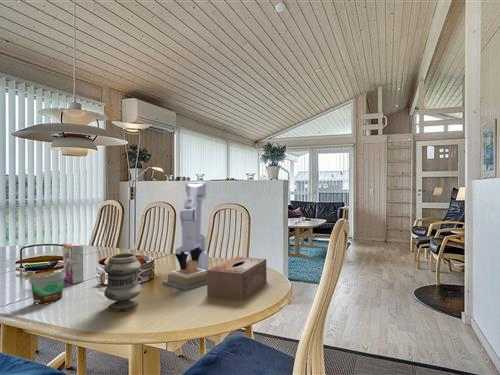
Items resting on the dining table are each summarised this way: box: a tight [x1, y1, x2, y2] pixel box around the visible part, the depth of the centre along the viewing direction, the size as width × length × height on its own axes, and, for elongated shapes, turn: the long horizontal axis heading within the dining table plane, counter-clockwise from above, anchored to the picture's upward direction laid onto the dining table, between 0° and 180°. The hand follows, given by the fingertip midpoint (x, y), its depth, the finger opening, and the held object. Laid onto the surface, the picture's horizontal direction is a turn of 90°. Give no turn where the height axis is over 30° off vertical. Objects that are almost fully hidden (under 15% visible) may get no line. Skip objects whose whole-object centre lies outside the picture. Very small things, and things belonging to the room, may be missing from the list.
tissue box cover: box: [206, 256, 268, 301], centre depth 135 cm, size 26×14×10 cm, turn 157°
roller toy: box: [99, 271, 105, 285], centre depth 144 cm, size 4×6×6 cm
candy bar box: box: [62, 242, 84, 285], centre depth 148 cm, size 11×5×16 cm, turn 47°
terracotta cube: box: [179, 259, 197, 275], centre depth 144 cm, size 5×5×5 cm
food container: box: [28, 269, 66, 305], centre depth 122 cm, size 12×6×10 cm, turn 148°
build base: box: [162, 268, 207, 291], centre depth 144 cm, size 16×16×5 cm
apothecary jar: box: [103, 252, 142, 313], centre depth 115 cm, size 12×12×18 cm
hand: (189, 267), depth 144 cm, fingers open, 7 cm apart
